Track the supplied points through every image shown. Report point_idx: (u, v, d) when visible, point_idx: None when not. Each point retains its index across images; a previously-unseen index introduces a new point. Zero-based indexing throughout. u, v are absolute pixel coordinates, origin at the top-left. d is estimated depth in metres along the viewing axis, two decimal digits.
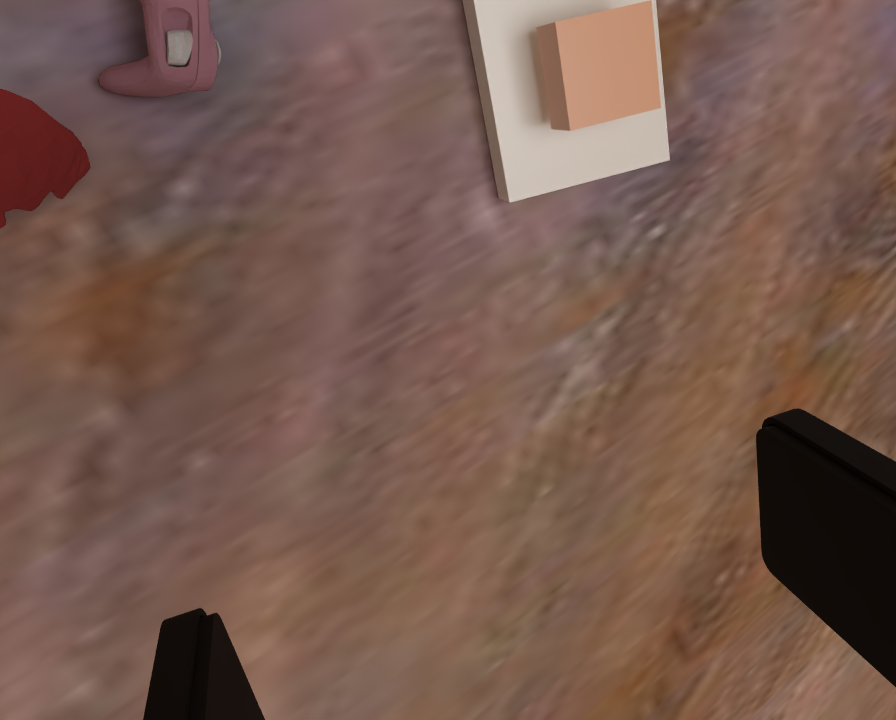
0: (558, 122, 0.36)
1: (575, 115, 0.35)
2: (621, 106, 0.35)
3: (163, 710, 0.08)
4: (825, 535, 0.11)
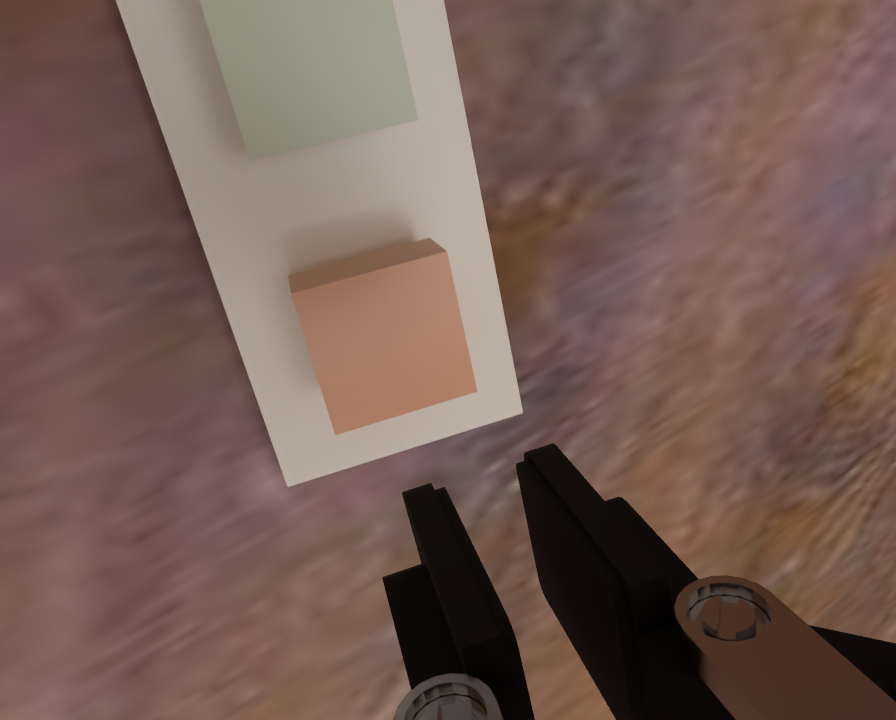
0: None
1: (340, 415, 0.23)
2: (414, 396, 0.24)
3: (440, 546, 0.10)
4: (559, 566, 0.11)
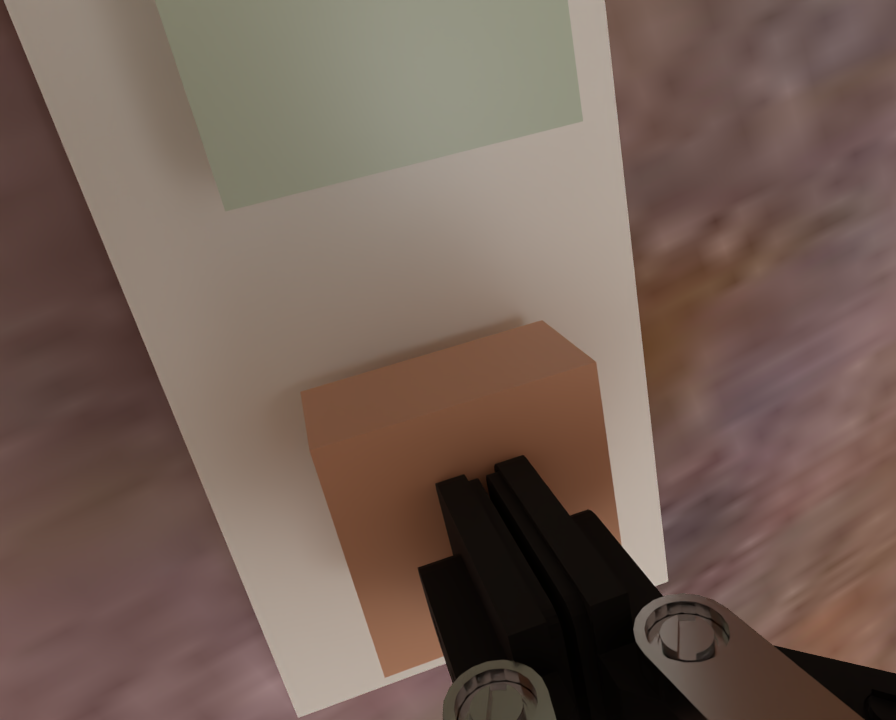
0: None
1: (395, 646, 0.13)
2: None
3: (478, 535, 0.10)
4: None
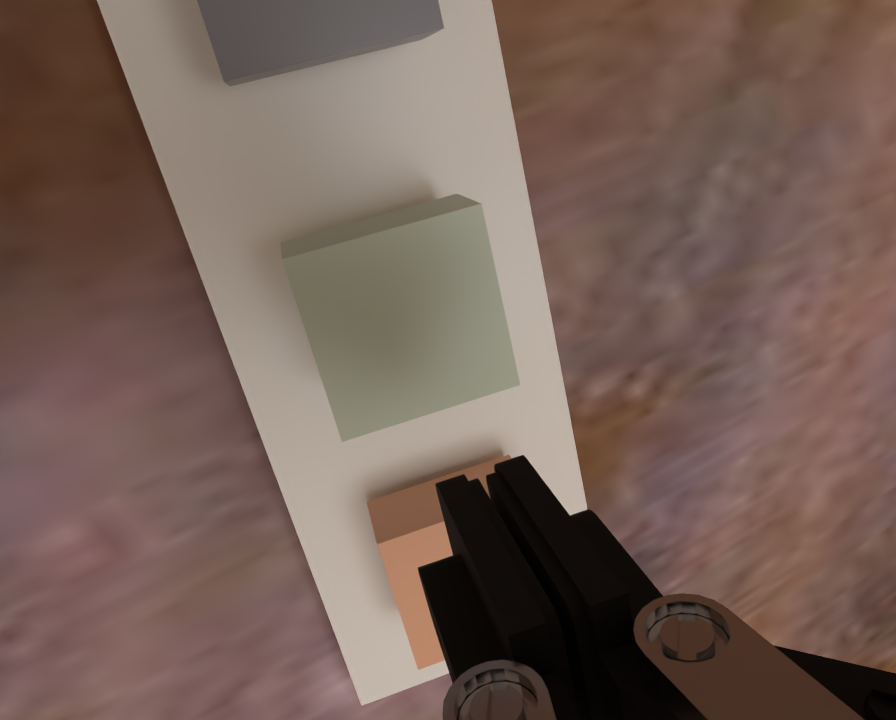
0: None
1: (423, 650, 0.23)
2: None
3: (478, 535, 0.10)
4: None
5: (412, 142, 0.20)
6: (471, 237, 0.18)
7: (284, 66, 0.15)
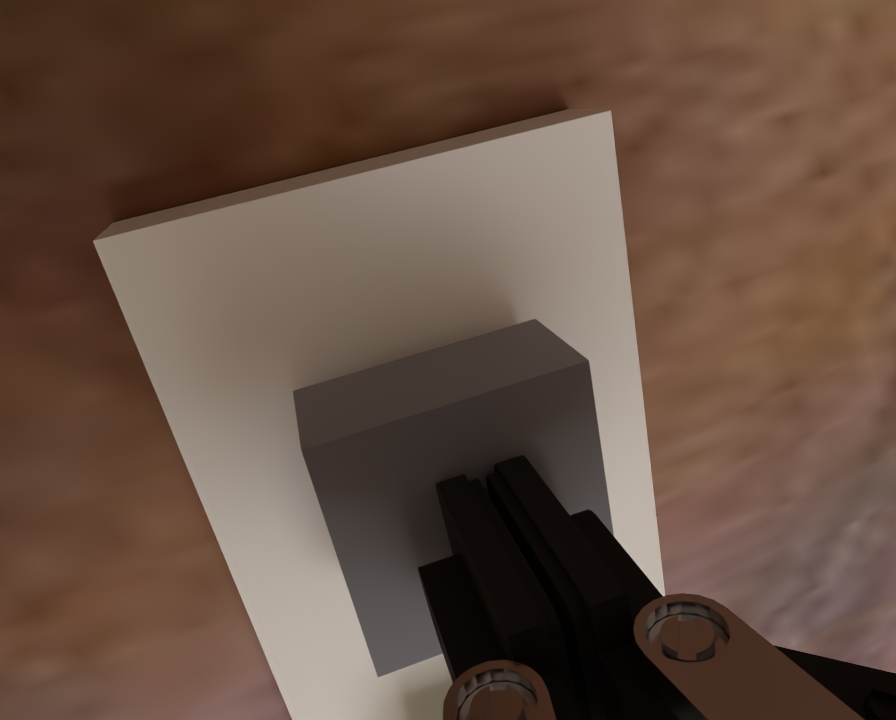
0: None
1: None
2: None
3: (478, 535, 0.10)
4: None
5: None
6: None
7: None
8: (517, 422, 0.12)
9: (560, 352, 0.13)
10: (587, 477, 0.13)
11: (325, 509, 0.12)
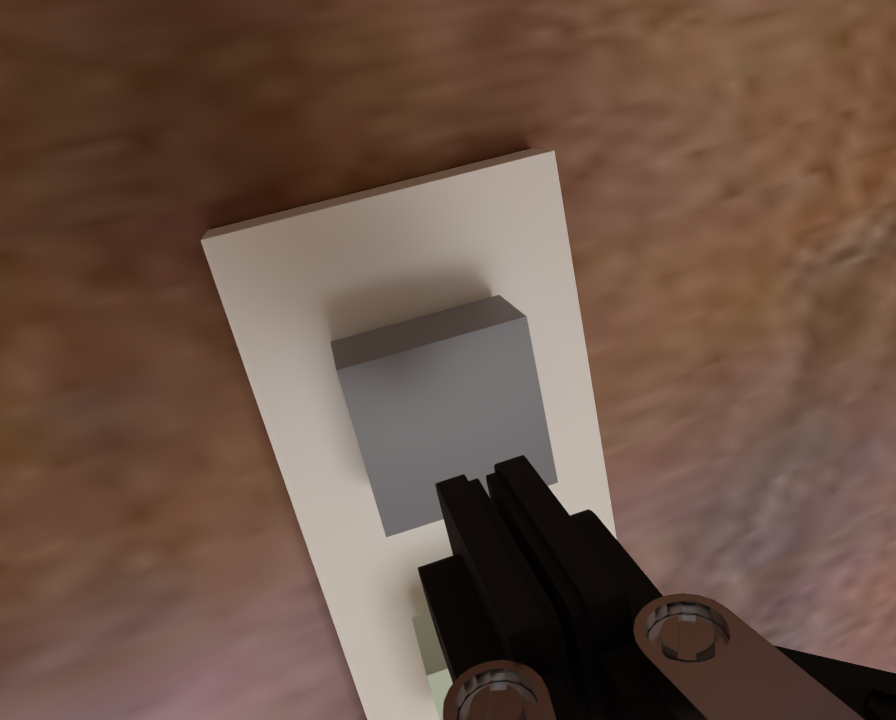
0: None
1: None
2: None
3: (478, 535, 0.10)
4: None
5: None
6: None
7: (432, 520, 0.19)
8: (479, 357, 0.18)
9: (510, 312, 0.19)
10: (529, 399, 0.19)
11: (351, 412, 0.18)
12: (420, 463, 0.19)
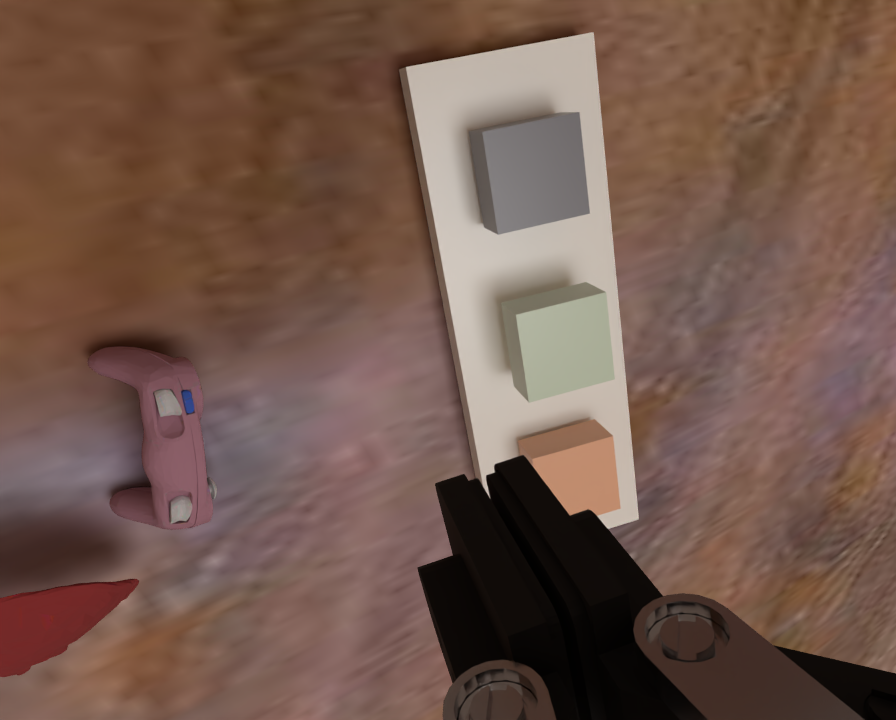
0: None
1: None
2: None
3: (478, 535, 0.10)
4: None
5: (562, 253, 0.40)
6: (599, 307, 0.37)
7: (522, 228, 0.36)
8: (553, 133, 0.35)
9: (569, 113, 0.35)
10: (577, 160, 0.35)
11: (487, 156, 0.34)
12: (519, 192, 0.35)
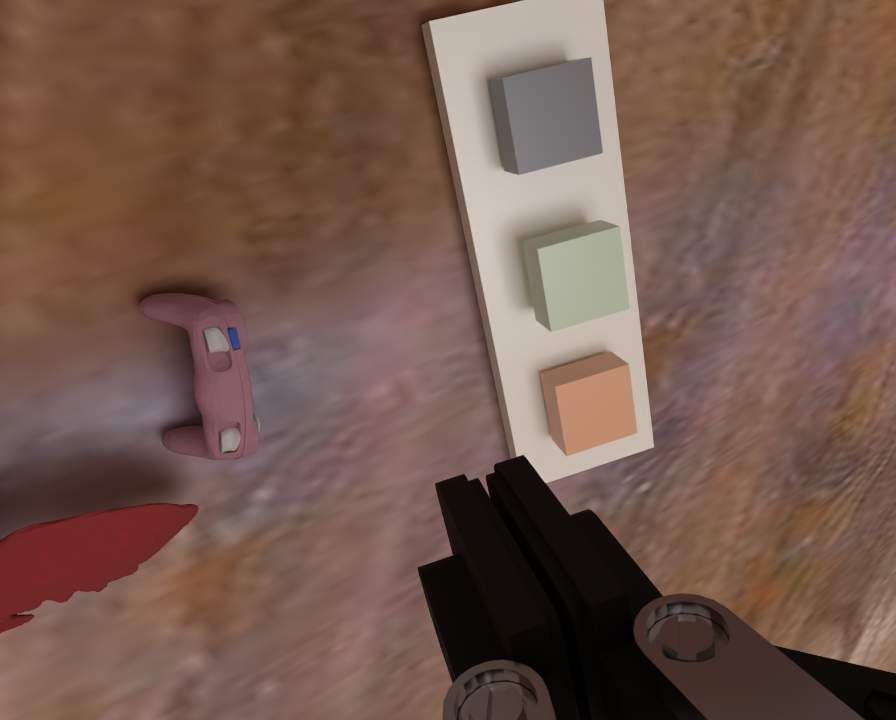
0: (557, 442, 0.46)
1: (570, 446, 0.45)
2: (606, 436, 0.46)
3: (478, 535, 0.10)
4: None
5: (576, 194, 0.43)
6: (614, 240, 0.40)
7: (541, 168, 0.39)
8: (568, 77, 0.37)
9: None
10: (590, 103, 0.38)
11: (507, 101, 0.37)
12: (537, 134, 0.38)
